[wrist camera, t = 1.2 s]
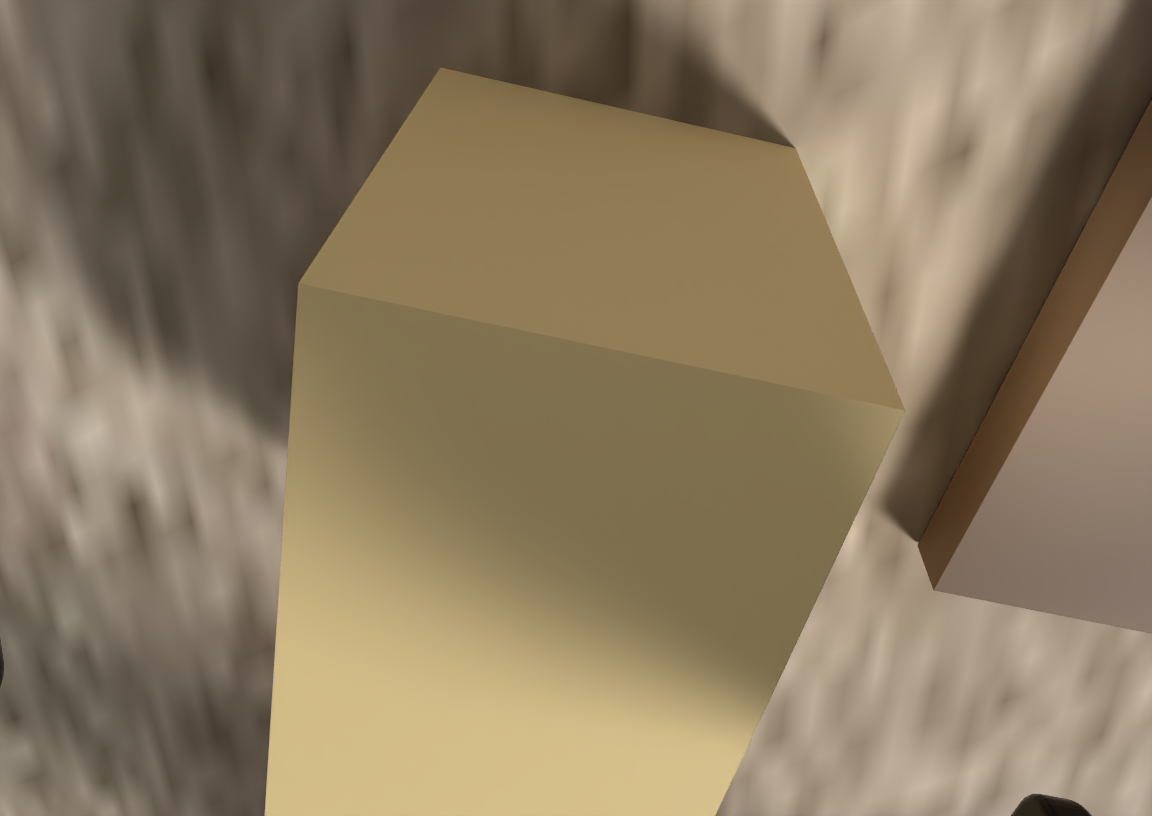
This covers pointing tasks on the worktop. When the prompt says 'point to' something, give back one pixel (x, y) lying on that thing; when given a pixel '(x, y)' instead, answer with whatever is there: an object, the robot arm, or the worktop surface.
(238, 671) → the worktop surface
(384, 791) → the ochre carton
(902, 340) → the worktop surface
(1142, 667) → the worktop surface
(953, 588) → the shelf board
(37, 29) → the worktop surface
